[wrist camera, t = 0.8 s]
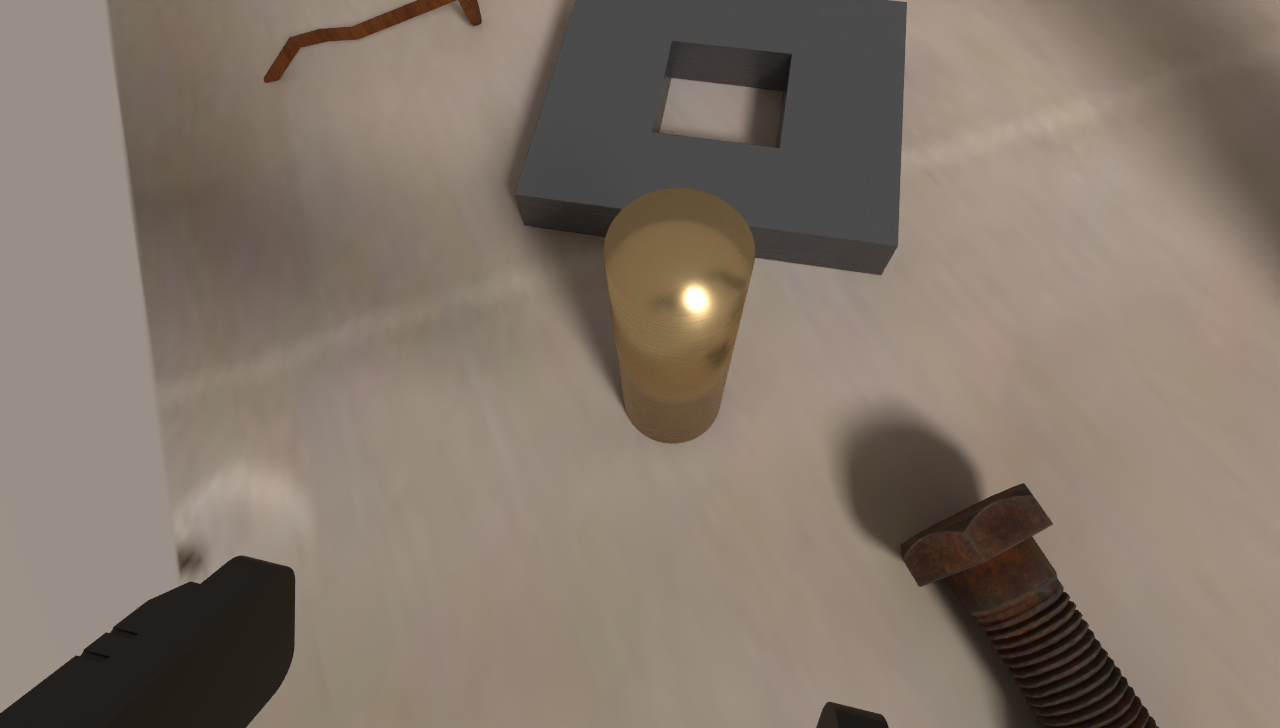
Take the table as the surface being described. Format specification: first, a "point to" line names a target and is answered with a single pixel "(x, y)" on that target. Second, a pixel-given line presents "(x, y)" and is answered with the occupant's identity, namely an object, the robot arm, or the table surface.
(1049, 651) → the bolt
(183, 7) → the table surface
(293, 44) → the glasses
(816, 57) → the plate
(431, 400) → the table surface
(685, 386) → the tan mottled cylinder
